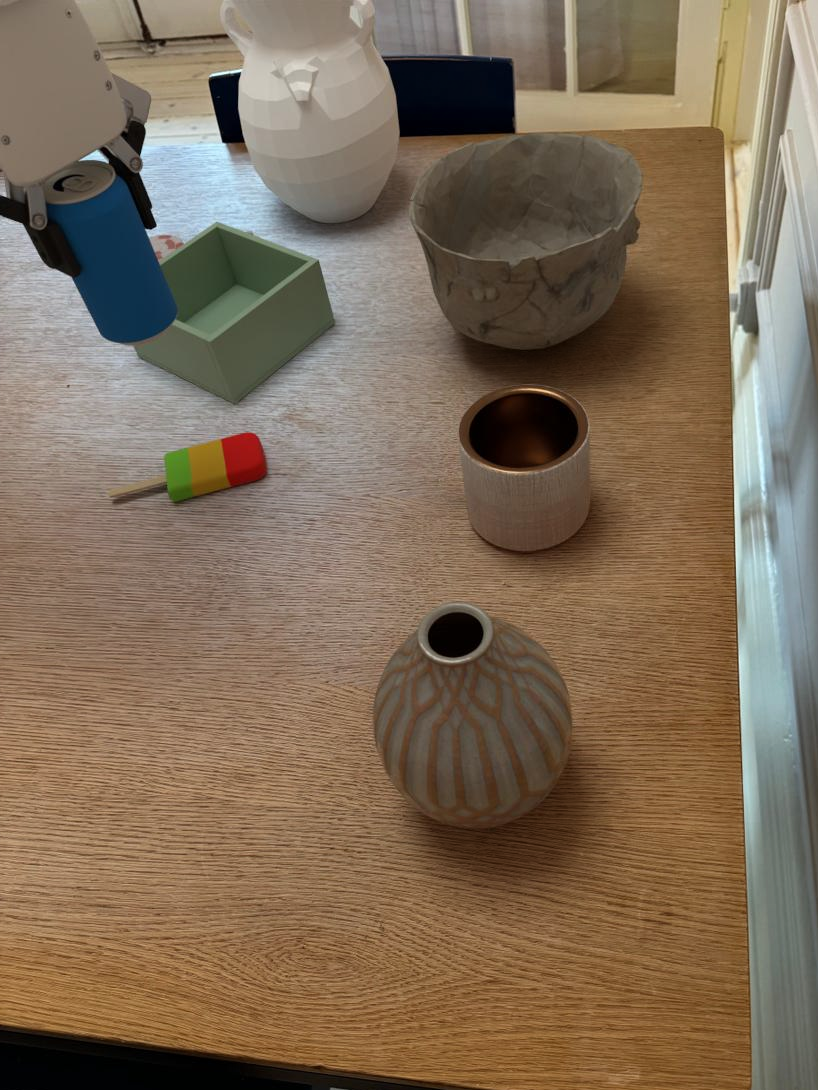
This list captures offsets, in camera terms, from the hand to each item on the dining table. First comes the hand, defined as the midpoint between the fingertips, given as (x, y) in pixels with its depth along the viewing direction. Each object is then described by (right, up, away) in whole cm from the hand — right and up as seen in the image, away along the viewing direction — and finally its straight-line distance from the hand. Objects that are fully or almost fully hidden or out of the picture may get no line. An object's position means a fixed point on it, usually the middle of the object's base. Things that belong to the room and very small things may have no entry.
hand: (104, 245), depth 66 cm
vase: (+28, -39, -2) cm, 49 cm away
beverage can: (+1, -4, +6) cm, 7 cm away
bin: (+1, +3, +31) cm, 31 cm away
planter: (+33, -18, +12) cm, 39 cm away
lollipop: (-7, +18, +42) cm, 47 cm away
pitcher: (+10, +26, +46) cm, 54 cm away
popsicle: (0, -14, +19) cm, 24 cm away
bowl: (+34, +4, +28) cm, 44 cm away
